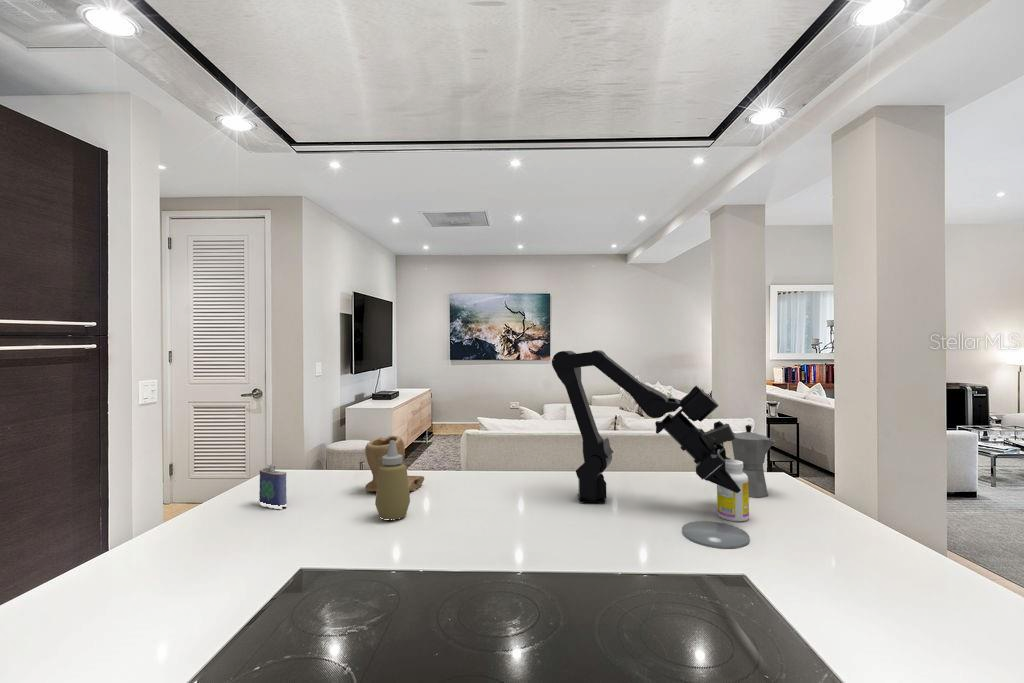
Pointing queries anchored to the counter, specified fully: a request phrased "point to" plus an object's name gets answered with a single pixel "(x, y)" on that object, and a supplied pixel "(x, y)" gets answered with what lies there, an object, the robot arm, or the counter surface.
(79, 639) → the counter surface
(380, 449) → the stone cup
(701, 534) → the slate trivet
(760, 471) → the coffeepot
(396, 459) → the squeeze bottle
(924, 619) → the counter surface
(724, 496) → the supplement bottle
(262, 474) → the flask
